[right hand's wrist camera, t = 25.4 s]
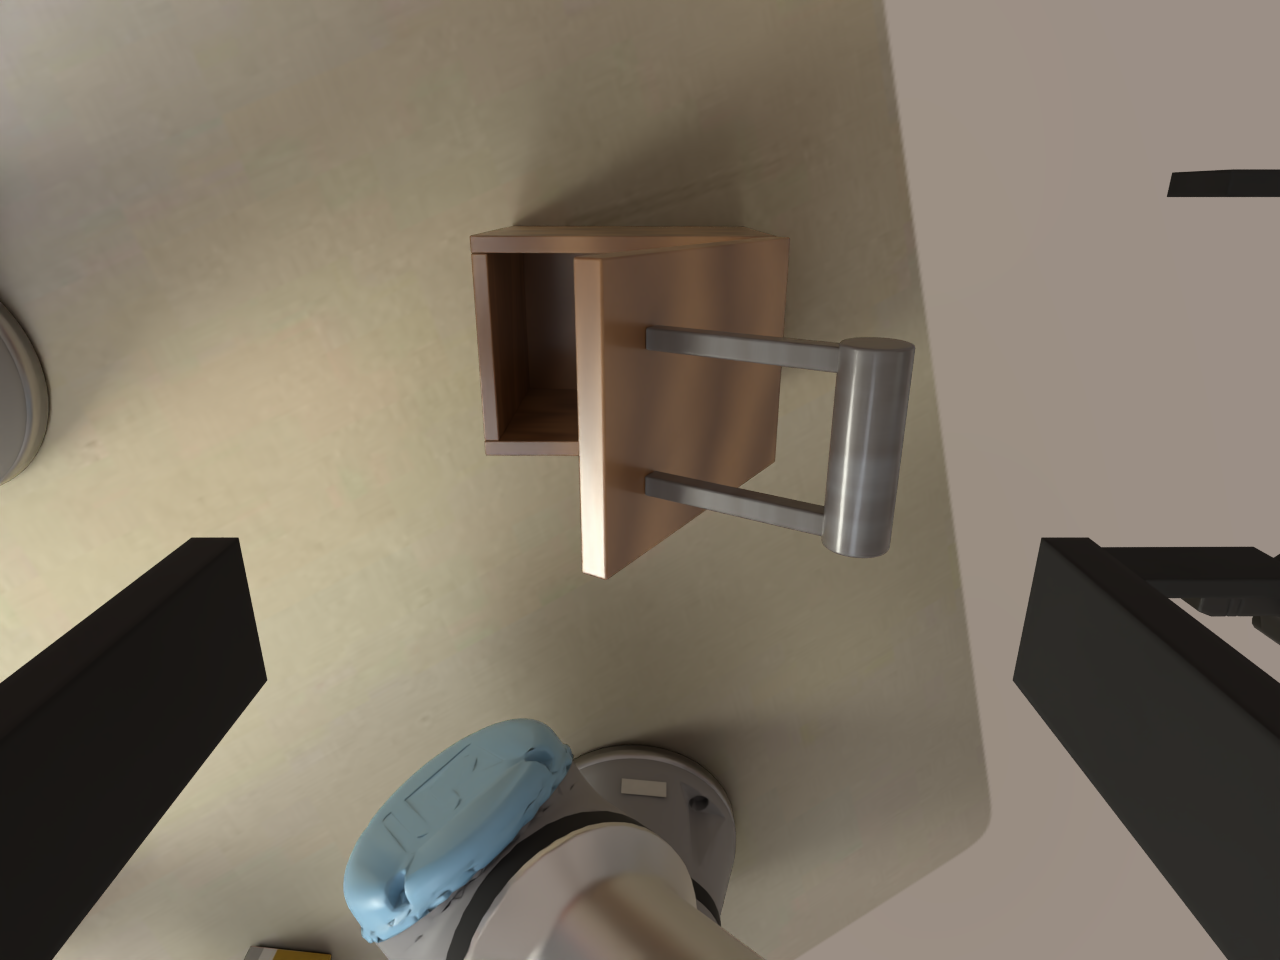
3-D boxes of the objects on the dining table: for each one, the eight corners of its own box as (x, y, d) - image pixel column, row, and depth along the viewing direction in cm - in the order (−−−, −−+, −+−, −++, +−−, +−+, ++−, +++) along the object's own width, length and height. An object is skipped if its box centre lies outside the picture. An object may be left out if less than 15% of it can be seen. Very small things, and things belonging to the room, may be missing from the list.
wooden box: (520, 397, 46) (485, 455, 36) (511, 226, 43) (469, 235, 32) (736, 397, 46) (763, 456, 36) (744, 226, 43) (777, 236, 32)
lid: (581, 573, 25) (852, 656, 20) (572, 256, 21) (896, 273, 17) (755, 458, 35) (957, 496, 31) (768, 236, 32) (997, 243, 28)
